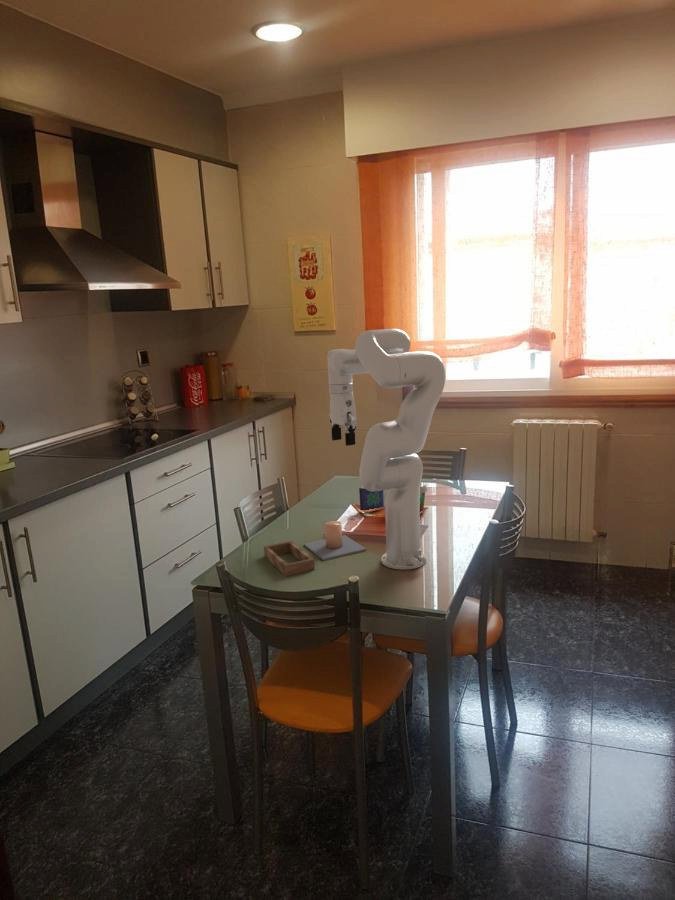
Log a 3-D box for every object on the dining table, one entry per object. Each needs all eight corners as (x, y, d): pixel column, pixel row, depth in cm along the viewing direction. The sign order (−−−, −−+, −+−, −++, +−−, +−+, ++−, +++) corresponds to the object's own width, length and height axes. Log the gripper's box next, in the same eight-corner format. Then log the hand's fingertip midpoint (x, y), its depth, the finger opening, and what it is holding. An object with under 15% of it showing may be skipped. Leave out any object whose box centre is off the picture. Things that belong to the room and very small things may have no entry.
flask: (382, 507, 234) (381, 478, 232) (386, 509, 232) (385, 480, 229) (358, 511, 231) (357, 482, 228) (362, 514, 228) (361, 484, 225)
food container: (389, 517, 223) (388, 488, 221) (392, 511, 229) (391, 483, 227) (425, 518, 220) (425, 489, 218) (427, 512, 226) (427, 484, 224)
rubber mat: (366, 550, 194) (366, 548, 194) (323, 560, 189) (323, 558, 188) (344, 536, 207) (344, 534, 207) (303, 545, 201) (303, 543, 201)
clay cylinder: (345, 546, 197) (344, 523, 195) (330, 549, 194) (329, 527, 193) (337, 541, 201) (336, 519, 200) (323, 545, 199) (321, 523, 197)
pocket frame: (314, 569, 183) (314, 559, 182) (285, 576, 179) (285, 565, 178) (291, 550, 198) (290, 540, 197) (264, 556, 194) (263, 546, 193)
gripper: (364, 390, 200) (366, 445, 204) (339, 385, 215) (341, 436, 219) (342, 393, 197) (345, 448, 200) (318, 387, 212) (321, 439, 216)
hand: (343, 442), depth 210 cm, fingers open, 9 cm apart
